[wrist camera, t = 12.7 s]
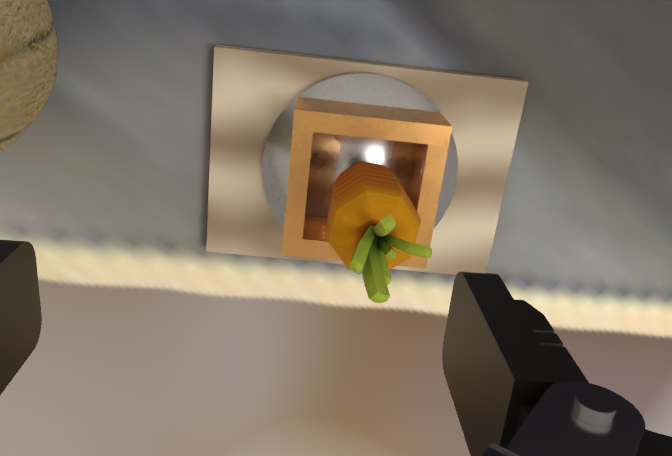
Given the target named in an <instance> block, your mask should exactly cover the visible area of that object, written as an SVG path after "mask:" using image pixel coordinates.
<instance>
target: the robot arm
mask: <svg viewBox="0 0 672 456" xmlns="http://www.w3.org/2000/svg"><path fill="white" fill-rule="evenodd" d="M41 319H42V318H41V306H40V296H39V286H38V276H37V266H36V256H35V251H34V248H33V246H32V244H31V243H29V242H25V241H10V240H0V395H1V393H2V392H3V391H4V389H5V388H6V386H7V385H8V384H9V382H10V381H11V380H12V378H13V377H14V376H15V374H16V373H17V372H18V370H19V369H20V368H21V366H22V365H23V364H24V362H25V361H26V360H27V358H28V357H29V356H30V354H31V353H32V351H33V350H34V348H35V347H36V344H37V342H38V339H39V335H40V330H41ZM443 369H444V374H445V377H446V380H447V384H448V387H449V390H450V393H451V396H452V399H453V402H454V405H455V408H456V411H457V415H458V418H459V421H460V424H461V427H462V430H463V433H464V436H465V440H466V443H467V446H468V449H469V452H470V455H471V456H672V437H670V436H666V435H662V434H658V433H655V432H652V431H649V430H646V429H645V421H644V419H643V416H642V415H641V414H640V412H639V411H638V409H637V408H636V407H635V406H634V405H633V404H631V403H630V402H629V401H628V400H626V399H625V398H624V397H622V396H620V395H619V394H617V393H615V392H613V391H611V390H609V389H607V388H604V387H601V386H598V385H595V384H591V383H589V382H588V381H587V379H586V378H585V376H584V375H583V373H582V372H581V370H580V369H579V367H578V366H577V364H576V363H575V361H574V360H573V358H572V357H571V355H570V354H569V352H568V351H567V349H566V348H565V347H563V343H562V342H561V340H560V339H559V337H558V336H557V334H554V330H553V328H552V327H551V325H550V324H549V322H548V320H547V319H546V317H545V316H544V315H543V314H542V313H541V312H539V311H538V310H536V309H535V308H534V307H532V306H531V305H530V304H528V303H527V302H526V301H524V300H514V299H513V298H512V296H511V294H510V293H509V291H508V289H507V288H506V286H505V284H504V283H503V281H502V279H501V278H500V276H499V275H498V274H489V273H475V272H458V274H457V275H456V278H455V281H454V286H453V291H452V297H451V302H450V308H449V314H448V319H447V326H446V331H445V336H444V342H443Z"/></svg>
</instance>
